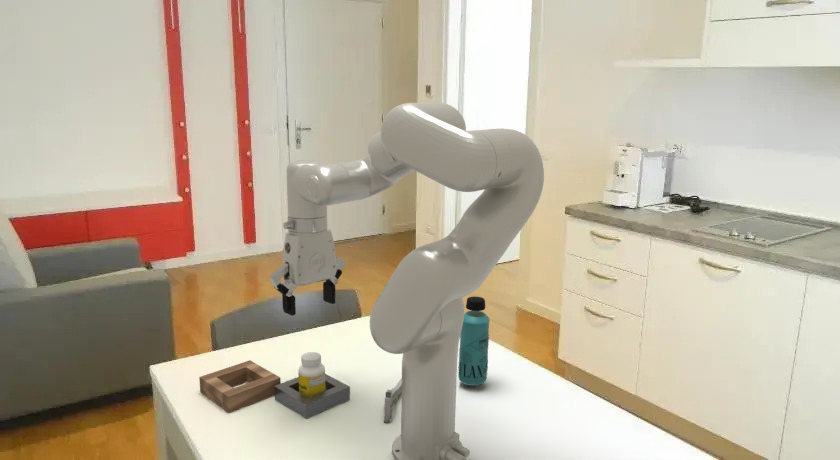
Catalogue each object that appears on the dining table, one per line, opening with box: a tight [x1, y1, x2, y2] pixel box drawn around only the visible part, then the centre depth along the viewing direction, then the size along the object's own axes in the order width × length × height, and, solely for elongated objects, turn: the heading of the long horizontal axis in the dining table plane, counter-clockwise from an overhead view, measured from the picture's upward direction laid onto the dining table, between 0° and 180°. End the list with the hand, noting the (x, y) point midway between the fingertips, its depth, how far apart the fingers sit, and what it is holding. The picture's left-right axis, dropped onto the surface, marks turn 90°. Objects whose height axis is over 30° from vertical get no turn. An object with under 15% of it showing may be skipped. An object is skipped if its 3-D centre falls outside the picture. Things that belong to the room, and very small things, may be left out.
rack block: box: [198, 359, 282, 414], centre depth 131 cm, size 12×12×4 cm
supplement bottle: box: [297, 351, 326, 398], centre depth 128 cm, size 5×5×10 cm
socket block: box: [274, 373, 351, 420], centre depth 129 cm, size 11×11×3 cm
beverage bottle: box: [457, 296, 491, 386], centre depth 135 cm, size 6×7×20 cm
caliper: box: [383, 377, 402, 424], centre depth 130 cm, size 20×1×6 cm, turn 170°
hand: (309, 307), depth 125 cm, fingers open, 9 cm apart
